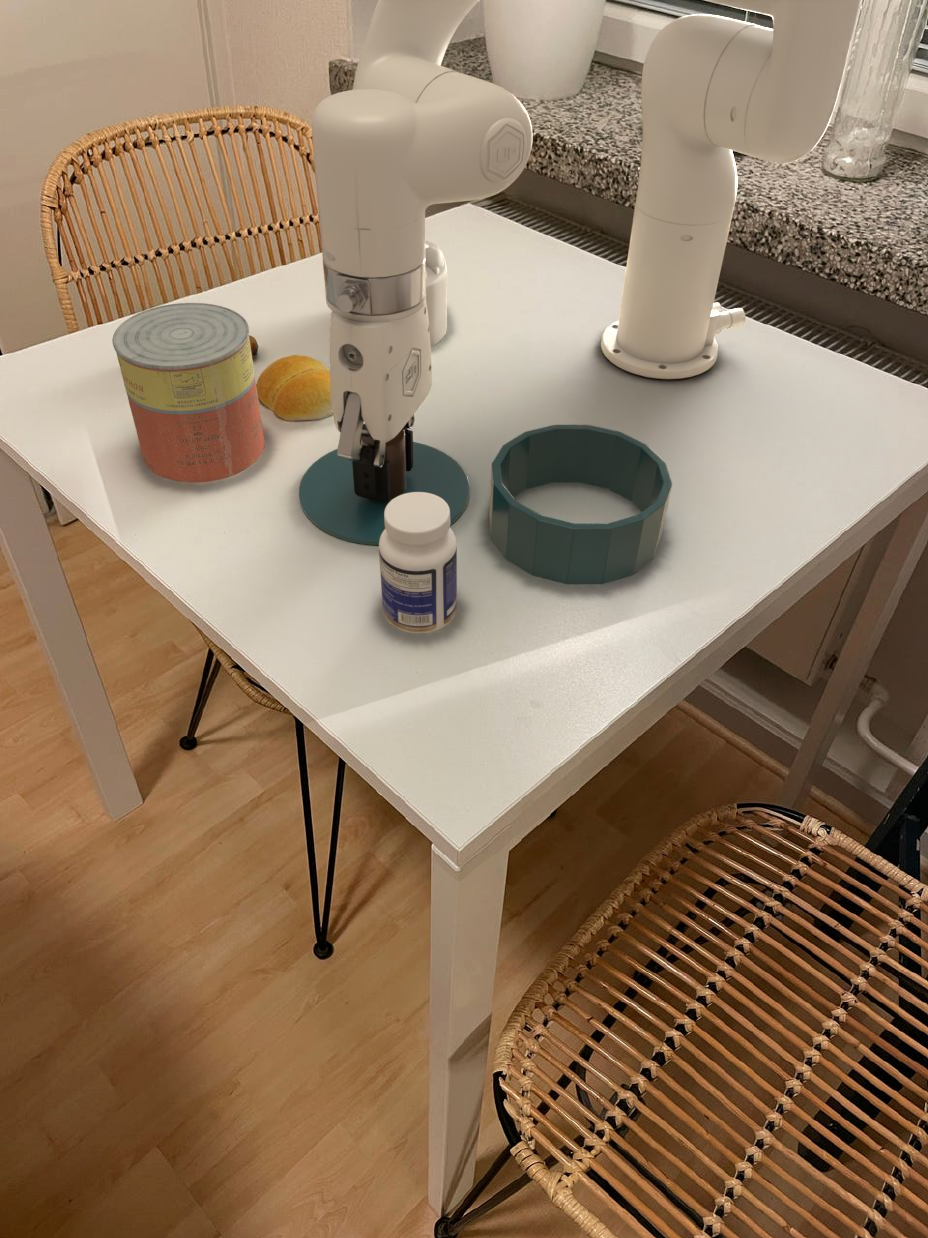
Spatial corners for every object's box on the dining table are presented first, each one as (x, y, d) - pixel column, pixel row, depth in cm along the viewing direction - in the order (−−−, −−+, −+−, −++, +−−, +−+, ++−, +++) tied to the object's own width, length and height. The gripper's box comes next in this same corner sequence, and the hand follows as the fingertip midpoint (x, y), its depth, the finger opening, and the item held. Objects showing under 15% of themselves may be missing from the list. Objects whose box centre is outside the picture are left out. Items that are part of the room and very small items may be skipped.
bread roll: (295, 435, 91) (291, 399, 88) (246, 397, 96) (240, 361, 93) (365, 406, 95) (363, 370, 92) (314, 370, 100) (310, 335, 97)
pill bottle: (426, 578, 77) (424, 476, 70) (471, 616, 74) (474, 514, 67) (367, 608, 74) (360, 506, 67) (412, 649, 71) (409, 547, 64)
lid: (430, 435, 92) (429, 373, 87) (497, 524, 82) (501, 461, 77) (279, 470, 87) (270, 407, 83) (332, 569, 77) (325, 504, 73)
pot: (603, 468, 88) (612, 410, 84) (691, 561, 79) (706, 501, 75) (462, 505, 84) (463, 445, 80) (538, 608, 75) (544, 547, 70)
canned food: (187, 409, 94) (163, 293, 86) (288, 434, 91) (273, 316, 83) (117, 470, 87) (83, 349, 78) (225, 499, 84) (202, 377, 75)
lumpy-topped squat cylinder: (439, 298, 113) (439, 224, 107) (453, 352, 103) (454, 275, 97) (351, 302, 111) (346, 227, 105) (357, 357, 102) (352, 279, 96)
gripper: (374, 340, 64) (384, 549, 77) (462, 245, 76) (458, 441, 88) (275, 320, 66) (301, 527, 79) (375, 230, 77) (384, 424, 90)
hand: (384, 480), depth 83 cm, fingers open, 4 cm apart
